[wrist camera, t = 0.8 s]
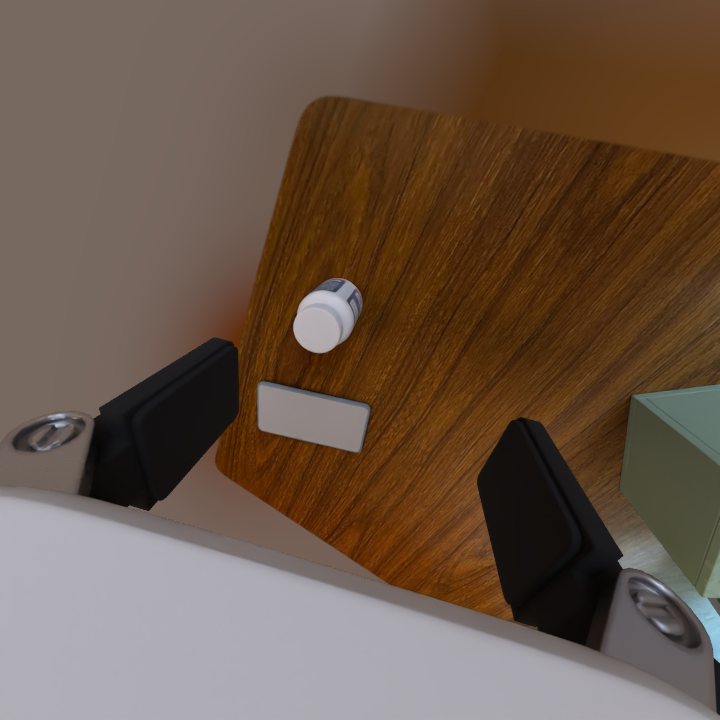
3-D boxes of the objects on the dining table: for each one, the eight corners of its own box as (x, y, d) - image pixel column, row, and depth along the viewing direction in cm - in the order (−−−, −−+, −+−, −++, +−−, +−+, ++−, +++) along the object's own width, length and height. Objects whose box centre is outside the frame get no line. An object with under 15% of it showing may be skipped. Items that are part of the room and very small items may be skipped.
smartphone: (360, 454, 39) (256, 430, 40) (361, 449, 40) (260, 426, 41) (371, 407, 35) (256, 381, 36) (372, 402, 36) (259, 378, 37)
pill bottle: (307, 306, 31) (273, 335, 24) (332, 267, 29) (303, 285, 21) (346, 333, 32) (325, 371, 24) (373, 298, 30) (359, 326, 22)
